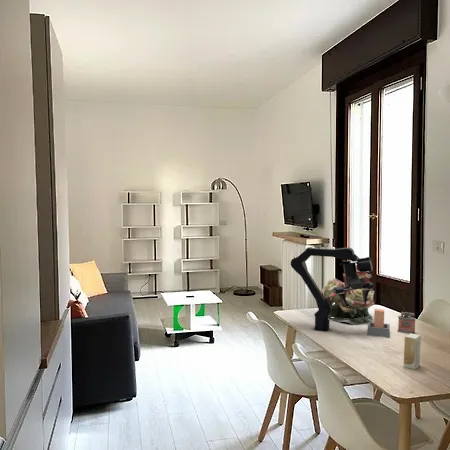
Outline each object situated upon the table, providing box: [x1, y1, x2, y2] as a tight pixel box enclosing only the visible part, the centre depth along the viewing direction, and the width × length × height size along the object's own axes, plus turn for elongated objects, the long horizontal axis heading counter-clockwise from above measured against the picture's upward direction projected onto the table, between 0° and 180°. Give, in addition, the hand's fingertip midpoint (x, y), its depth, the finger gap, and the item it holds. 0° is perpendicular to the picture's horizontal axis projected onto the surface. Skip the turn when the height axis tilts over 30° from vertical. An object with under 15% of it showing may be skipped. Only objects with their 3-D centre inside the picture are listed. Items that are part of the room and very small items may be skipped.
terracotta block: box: [373, 308, 385, 328], centre depth 240 cm, size 4×4×11 cm
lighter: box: [397, 311, 417, 335], centre depth 243 cm, size 8×3×10 cm, turn 62°
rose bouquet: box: [320, 264, 375, 326], centre depth 268 cm, size 26×29×30 cm
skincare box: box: [403, 333, 422, 370], centre depth 193 cm, size 6×4×12 cm
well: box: [366, 321, 391, 338], centre depth 240 cm, size 10×10×4 cm
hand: (355, 305), depth 238 cm, fingers open, 9 cm apart
